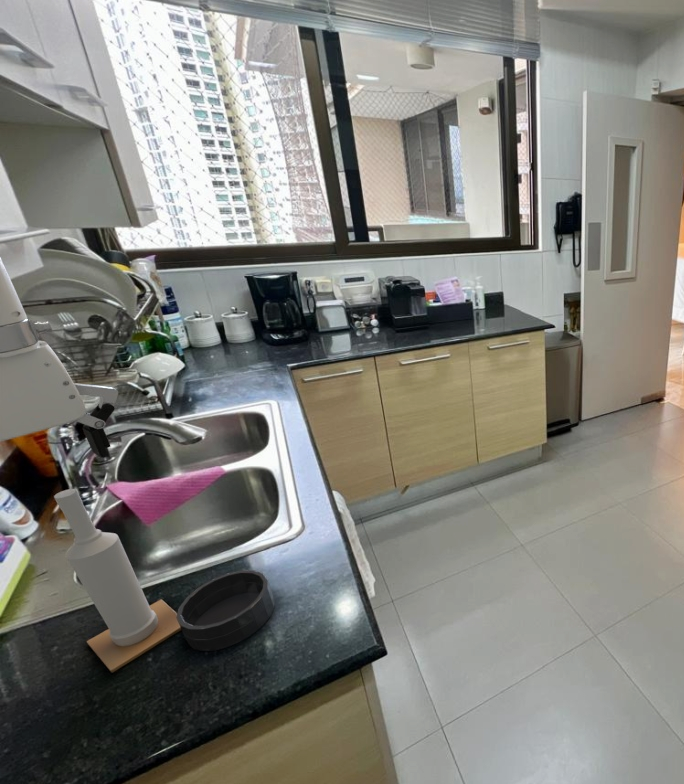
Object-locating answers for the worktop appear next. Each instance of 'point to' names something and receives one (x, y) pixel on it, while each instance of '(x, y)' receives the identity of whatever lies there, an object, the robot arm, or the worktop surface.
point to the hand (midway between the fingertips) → (49, 471)
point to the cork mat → (122, 655)
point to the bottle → (106, 575)
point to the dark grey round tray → (226, 610)
